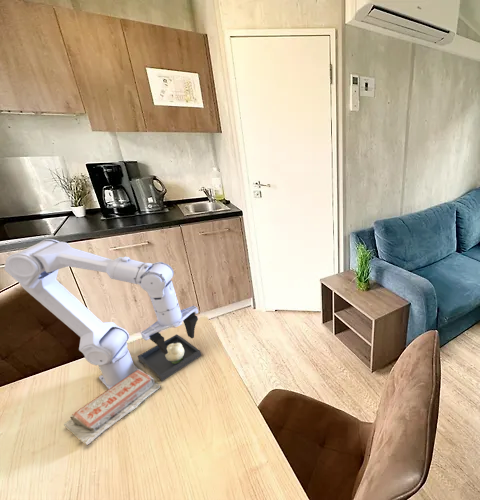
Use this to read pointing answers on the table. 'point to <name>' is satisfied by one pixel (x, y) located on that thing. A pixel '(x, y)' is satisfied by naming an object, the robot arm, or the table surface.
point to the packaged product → (111, 406)
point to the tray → (159, 363)
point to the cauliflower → (175, 352)
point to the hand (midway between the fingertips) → (178, 344)
